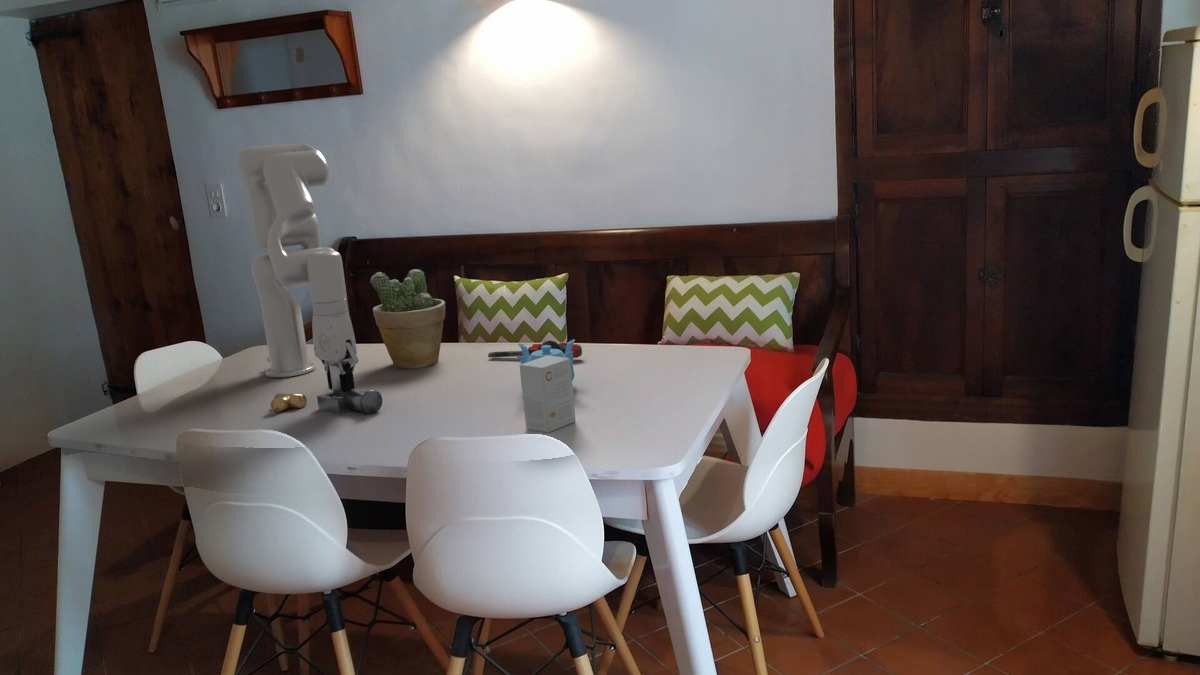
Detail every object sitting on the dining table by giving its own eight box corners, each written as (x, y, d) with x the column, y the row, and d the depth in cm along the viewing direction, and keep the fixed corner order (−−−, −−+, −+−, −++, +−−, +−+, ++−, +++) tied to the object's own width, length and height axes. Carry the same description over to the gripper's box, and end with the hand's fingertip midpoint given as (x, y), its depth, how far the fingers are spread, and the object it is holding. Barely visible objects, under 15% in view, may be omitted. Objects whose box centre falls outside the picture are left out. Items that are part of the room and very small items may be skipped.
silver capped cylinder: (330, 401, 208) (323, 358, 205) (346, 396, 211) (340, 353, 209) (341, 404, 205) (334, 360, 203) (357, 399, 208) (351, 355, 206)
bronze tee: (307, 405, 211) (305, 393, 211) (288, 413, 206) (286, 400, 205) (284, 404, 214) (282, 391, 214) (265, 411, 209) (262, 399, 208)
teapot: (519, 400, 203) (514, 355, 200) (522, 384, 215) (518, 341, 213) (578, 395, 203) (574, 350, 200) (578, 379, 215) (574, 336, 213)
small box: (553, 417, 188) (547, 354, 185) (576, 421, 184) (571, 357, 181) (524, 428, 182) (518, 364, 180) (548, 433, 178) (542, 367, 175)
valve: (597, 359, 242) (574, 366, 228) (508, 362, 252) (481, 368, 238) (596, 335, 241) (572, 340, 228) (507, 338, 251) (479, 343, 238)
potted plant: (418, 352, 257) (406, 262, 251) (467, 357, 246) (456, 263, 240) (365, 368, 242) (353, 273, 237) (415, 375, 231) (403, 275, 226)
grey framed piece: (318, 409, 208) (315, 387, 207) (349, 399, 214) (346, 378, 212) (358, 418, 198) (355, 395, 197) (389, 408, 204) (386, 386, 203)
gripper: (294, 309, 206) (306, 388, 210) (338, 314, 195) (349, 398, 199) (323, 302, 211) (334, 380, 215) (367, 307, 201) (378, 389, 205)
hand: (341, 388), depth 207 cm, fingers closed on silver capped cylinder, 4 cm apart
